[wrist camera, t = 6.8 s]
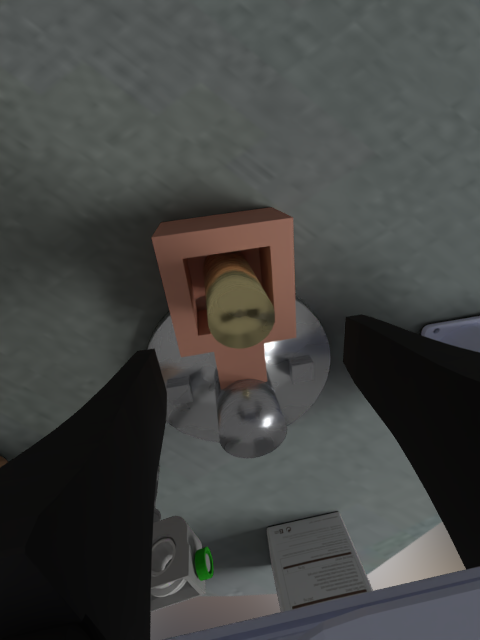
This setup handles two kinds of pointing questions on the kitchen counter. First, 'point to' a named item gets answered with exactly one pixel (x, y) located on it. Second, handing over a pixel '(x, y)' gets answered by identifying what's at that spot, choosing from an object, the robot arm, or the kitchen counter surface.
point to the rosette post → (244, 388)
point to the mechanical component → (176, 561)
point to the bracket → (188, 284)
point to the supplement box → (314, 562)
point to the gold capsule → (236, 301)
